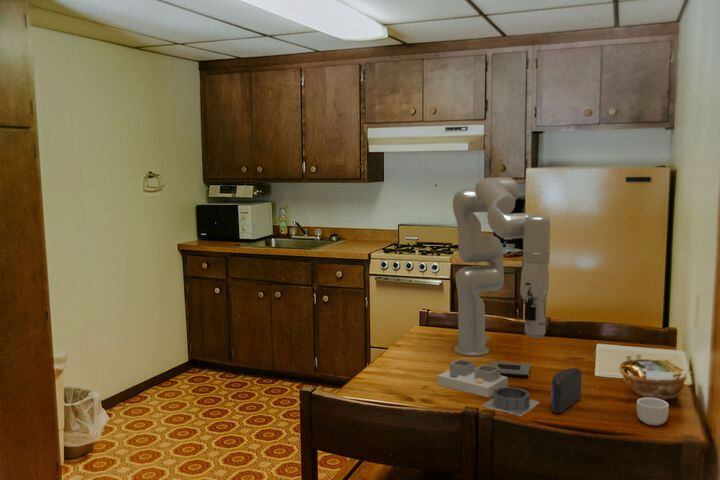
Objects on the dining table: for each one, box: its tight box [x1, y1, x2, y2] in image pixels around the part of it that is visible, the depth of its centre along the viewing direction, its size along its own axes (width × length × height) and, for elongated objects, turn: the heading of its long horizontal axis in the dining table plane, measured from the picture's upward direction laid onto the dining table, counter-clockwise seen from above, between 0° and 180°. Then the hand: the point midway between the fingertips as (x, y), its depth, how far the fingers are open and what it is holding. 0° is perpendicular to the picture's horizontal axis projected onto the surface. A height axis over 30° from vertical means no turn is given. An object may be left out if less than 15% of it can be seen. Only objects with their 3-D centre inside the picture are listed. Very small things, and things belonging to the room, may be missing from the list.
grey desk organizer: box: [437, 359, 509, 398], centre depth 198 cm, size 12×18×6 cm, turn 49°
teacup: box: [636, 397, 670, 426], centre depth 169 cm, size 10×8×5 cm
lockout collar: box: [481, 386, 541, 417], centre depth 182 cm, size 12×12×4 cm
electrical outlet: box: [488, 360, 531, 378], centre depth 210 cm, size 13×10×2 cm
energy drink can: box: [524, 287, 548, 339], centre depth 188 cm, size 6×6×15 cm
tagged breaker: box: [479, 366, 496, 372], centre depth 196 cm, size 4×4×2 cm
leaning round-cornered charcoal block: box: [550, 367, 582, 415], centre depth 181 cm, size 16×5×9 cm, turn 140°
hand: (535, 317), depth 189 cm, fingers closed on energy drink can, 6 cm apart
